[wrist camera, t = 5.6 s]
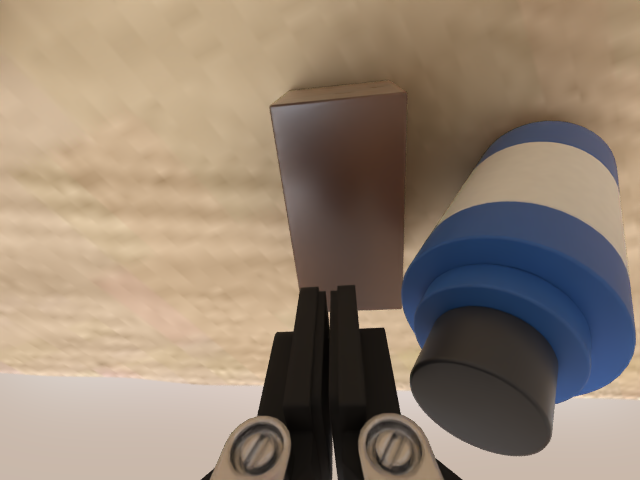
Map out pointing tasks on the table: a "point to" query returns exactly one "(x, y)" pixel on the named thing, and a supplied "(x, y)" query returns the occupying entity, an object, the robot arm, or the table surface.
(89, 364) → the table surface
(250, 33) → the table surface
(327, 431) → the robot arm
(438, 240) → the bottle
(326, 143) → the block
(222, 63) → the table surface
